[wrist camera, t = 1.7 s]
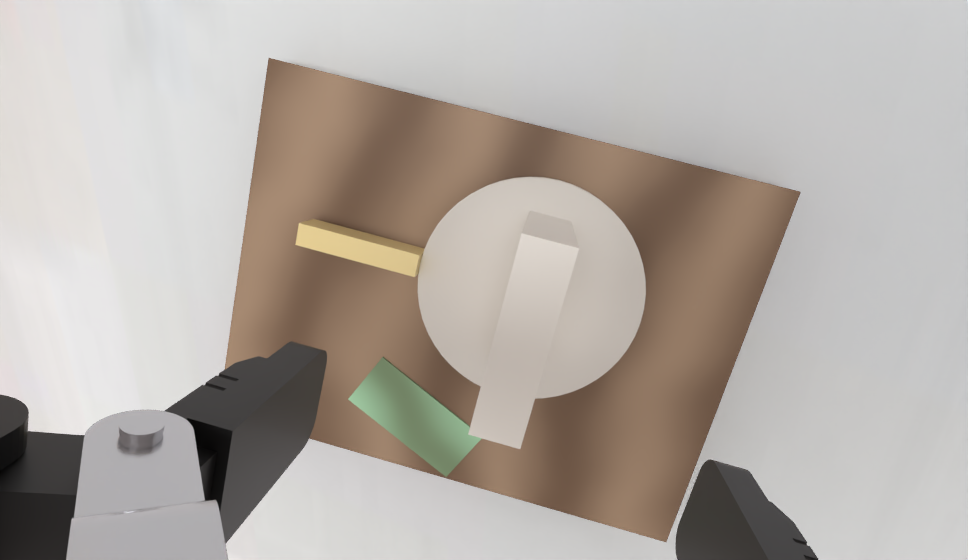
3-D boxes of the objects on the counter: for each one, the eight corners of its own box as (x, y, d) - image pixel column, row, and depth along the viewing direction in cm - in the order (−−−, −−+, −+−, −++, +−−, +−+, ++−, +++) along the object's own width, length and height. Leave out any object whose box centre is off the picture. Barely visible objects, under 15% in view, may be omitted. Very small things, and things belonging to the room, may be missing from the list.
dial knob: (672, 209, 24) (730, 235, 16) (604, 414, 26) (627, 522, 19) (330, 121, 25) (231, 106, 17) (295, 327, 27) (194, 396, 20)
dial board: (781, 189, 26) (801, 191, 24) (658, 517, 30) (666, 543, 28) (288, 64, 27) (267, 57, 25) (238, 396, 31) (217, 412, 29)
